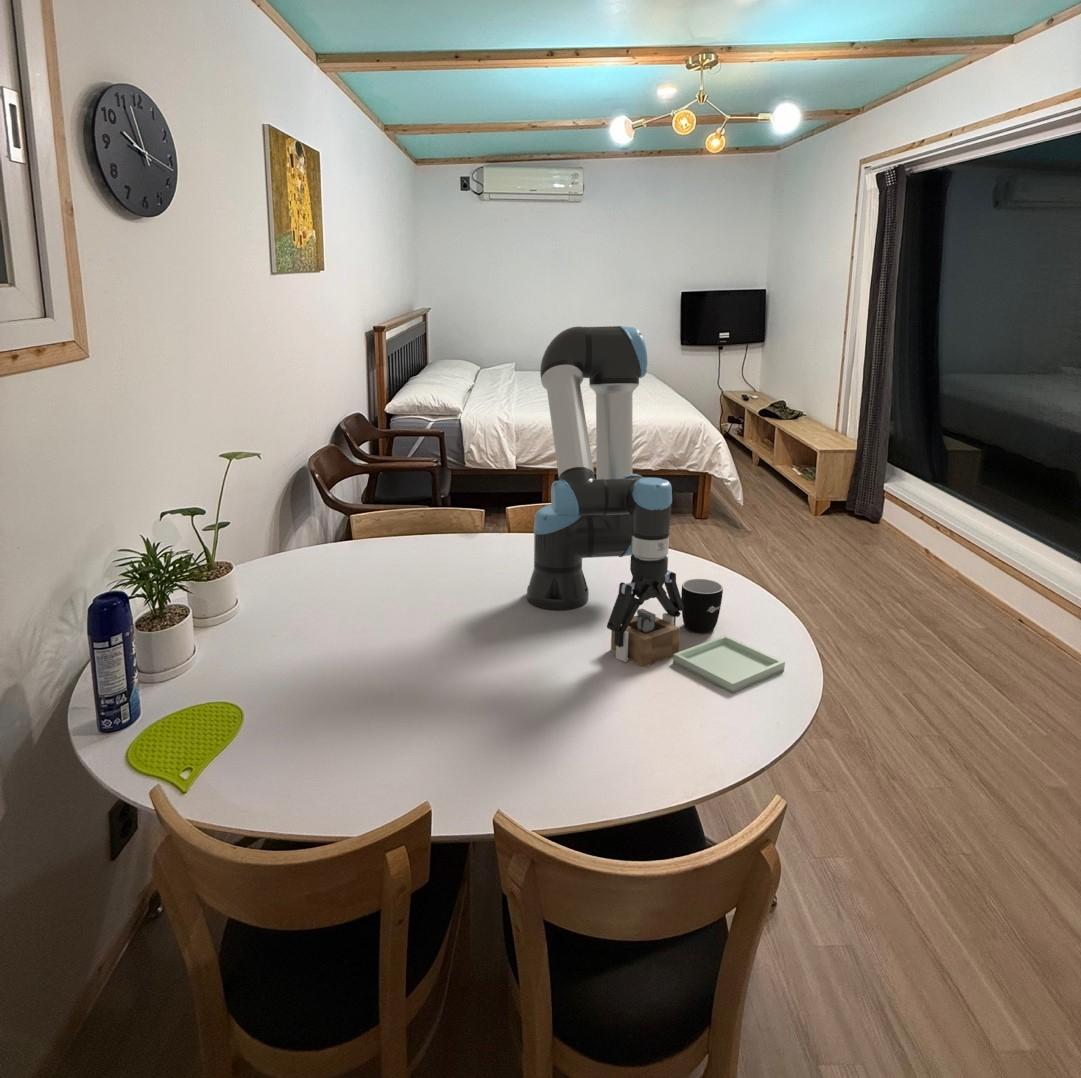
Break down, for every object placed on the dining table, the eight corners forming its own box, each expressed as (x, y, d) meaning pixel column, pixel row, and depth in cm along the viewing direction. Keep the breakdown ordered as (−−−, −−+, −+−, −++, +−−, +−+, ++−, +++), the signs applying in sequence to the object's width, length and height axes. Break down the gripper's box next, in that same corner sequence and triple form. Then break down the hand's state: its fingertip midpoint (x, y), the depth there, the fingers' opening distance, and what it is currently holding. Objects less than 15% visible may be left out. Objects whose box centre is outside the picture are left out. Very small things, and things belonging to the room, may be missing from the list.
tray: (673, 662, 164) (673, 654, 164) (724, 643, 173) (725, 635, 172) (732, 693, 152) (732, 684, 152) (784, 670, 161) (785, 661, 160)
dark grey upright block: (631, 650, 169) (633, 611, 167) (644, 646, 172) (646, 607, 169) (644, 657, 166) (646, 617, 164) (657, 652, 168) (659, 613, 166)
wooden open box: (610, 649, 170) (611, 623, 168) (645, 637, 176) (646, 612, 174) (643, 667, 162) (644, 640, 160) (678, 654, 168) (680, 627, 166)
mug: (706, 639, 175) (709, 596, 172) (671, 628, 180) (674, 586, 177) (733, 623, 183) (737, 581, 180) (699, 612, 189) (702, 572, 186)
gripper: (616, 572, 152) (612, 673, 159) (705, 548, 166) (698, 642, 173) (591, 561, 158) (588, 659, 165) (678, 539, 172) (673, 630, 179)
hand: (644, 651), depth 169 cm, fingers open, 12 cm apart
